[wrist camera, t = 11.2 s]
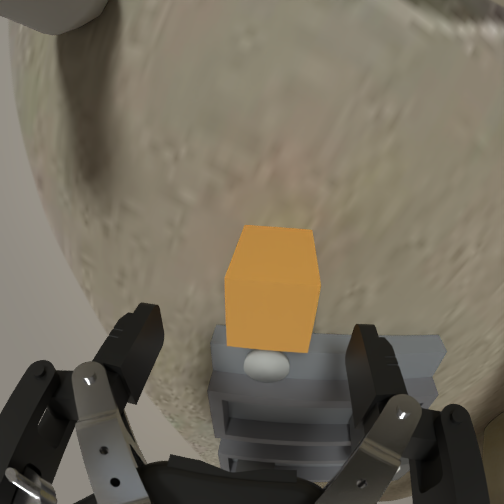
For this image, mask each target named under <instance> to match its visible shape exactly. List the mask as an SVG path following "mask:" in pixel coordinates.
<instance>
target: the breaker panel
mask: <svg viewBox="0 0 504 504" xmlns="http://www.w3.org/2000/svg"><path fill="white" fill-rule="evenodd" d="M351 336H352V335H338V334H317V333H312V335H311V340H310V345H309V349H308V353H298V352H284V351H271V350H260V349H250V348H240V347H232V346H227V337H226V326H223V325H216V328H215V331H214V334H213V337H212V340H211V343H210V344H211V354H212V364H213V372H212V376H211V379H210V383H209V386H208V390H207V391H208V398H209V404H210V411H211V417H212V423H213V429H214V434H215V438H221V441H220V446H219V450H218V456H219V461H220V467H221V469H223V470H226V471H228V472H236V467H237V461H238V459H240V460H249V461H259V462H271V463H275V466H274V469H279V470H297V477H299V478H303V479H306V480H308V481H310V482H329V481H330V480H331V479H332V478H333V477H334V475H335V474H336V473H337V472H338V471H339V469H340V468H341V467H342V465H343V464H344V463H345V462H346V460H347V459H348V458H349V456H350V455H351V454H352V451H351V438H350V427H349V420H350V418H351V416H352V414H353V412H352V404H351V398H350V391H349V385H348V378H347V372H346V366H345V355H346V350H347V347H348V344H349V341H350V339H351ZM379 337H385V338H386V339H387V340H388V342H389V343H390V344H391V345H392V347H393V349H394V352H395V355H396V356H395V358H397V361H398V366H399V367H400V370H401V373H402V376H403V380H404V383H405V386H406V389H407V393H408V395H409V396H412V397H413V398H415V399H416V400H417V401H418V402H419V404H420V406H421V408H424V409H428V408H429V407H430V405H431V404H432V403H433V401H434V400H435V399H436V397H437V396H438V395H439V394H438V392H437V389H436V386H435V383H434V380H433V378H432V376H433V374H434V373H435V371H436V369H437V368H438V366H439V364H440V363H441V361H442V359H443V358H444V356H445V354H446V352H447V351H446V348H445V346H444V344H443V342H442V340H441V338H440V336H439V335H413V336H379Z"/></svg>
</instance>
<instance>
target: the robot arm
mask: <svg viewBox="0 0 504 504" xmlns="http://www.w3.org/2000/svg"><path fill="white" fill-rule="evenodd" d="M163 342H164V329H163V324H162V318H161V313H160V308H159V306H158V305H155V304H148V303H140V304H139V305H138V307H137V308H136V310H135V311H134V313H129V312H128V313H127V314H126V315H124V316H123V317H122V318H120V319H119V320H118V322H117V323H116V325H115V326H114V329H112V331H111V332H110V334H109V336H108V337H107V339H106V340H105V342H104V343H103V345H102V346H101V348H100V349H99V351H98V353H97V354H96V356H95V357H94V359H93V360H92V361H90V362H85V363H82V364H80V365H79V366H78V367H76V368H75V370H74V371H59V370H55V368H54V366H53V365H52V363H51V362H49V361H46V360H40V361H36V362H34V363H33V364H31V365H30V366H29V368H28V369H27V370H26V372H25V374H24V375H23V377H22V378H21V380H20V381H19V383H18V385H17V386H16V388H15V390H14V391H13V393H12V394H11V396H10V398H9V400H8V402H7V403H6V405H5V407H4V408H3V410H2V412H1V414H0V504H57V499H56V494H55V490H54V488H53V486H52V483H53V480H54V477H55V475H56V472H57V469H58V467H59V464H60V461H61V459H62V456H63V454H64V451H65V449H66V446H67V444H68V442H69V439H70V437H71V434H72V432H73V430H74V427H75V426H76V432H77V436H78V441H79V445H80V449H81V452H82V456H83V460H84V463H85V467H86V470H87V473H88V477H89V480H90V483H91V486H92V489H93V492H94V493H93V494H91V495H90V496H88V497H86V498H84V499H82V500H80V501H78V502H76V503H74V504H377V502H378V501H379V499H380V498H381V496H382V495H383V493H384V492H385V490H386V488H387V487H388V485H389V484H390V482H391V480H392V479H393V477H394V475H395V474H396V472H397V470H398V468H399V466H400V464H401V460H400V458H401V457H402V458H408V459H409V467H410V475H411V486H412V498H413V504H490V499H489V493H488V487H487V482H486V476H485V472H484V467H483V462H482V458H481V454H480V450H479V446H478V442H477V439H476V435H475V431H474V428H473V425H472V421H471V418H470V415H469V413H468V411H467V410H466V409H465V408H464V407H462V406H460V405H458V404H450V405H447V406H446V407H445V408H444V409H443V410H442V411H441V412H440V411H435V410H429V409H424V408H421V406H420V404H419V402H418V401H417V400H416V399H415V398H413V397H412V396H409V395H408V393H407V389H406V386H405V383H404V380H403V376H402V373H401V370H400V367H399V366H398V361H397V358H395V356H396V355H395V352H394V349H393V347H392V345H391V344H390V343H389V342H388V340H387V339H386V338H385V337H379V336H378V333H377V330H376V327H375V325H371V324H356V325H355V327H354V330H353V333H352V336H351V339H350V341H349V344H348V347H347V350H346V355H345V366H346V372H347V378H348V385H349V391H350V398H351V404H352V412H353V419H354V427H355V429H364V433H365V436H364V437H363V438H362V440H361V441H360V443H359V444H358V445H357V447H356V448H355V450H354V451H353V452H352V454H351V455H350V456H349V458H348V459H347V460H346V462H345V463H344V464H343V465H342V467H341V468H340V469H339V471H338V472H337V473H336V474H335V475H334V477H333V478H332V479H331V480H330V481H329V482H328V484H327V485H326V486H325V487H324V488H323V489H322V488H321V487H319V486H318V485H316V484H315V483H313V482H310V481H308V480H306V479H303V478H299V477H297V470H279V469H260V470H252V471H243V472H228V471H226V470H223V469H220V468H218V467H215V466H213V465H210V464H208V463H205V462H203V461H200V460H195V459H190V458H185V457H180V456H176V455H171V454H170V458H169V461H158V462H153V463H149V464H147V462H146V460H145V458H144V456H143V454H142V452H141V450H140V449H139V446H138V444H137V442H136V439H135V436H134V434H133V431H132V429H131V426H130V423H129V421H128V418H127V415H126V412H125V410H124V408H125V406H126V404H127V402H128V403H132V404H135V405H136V404H137V402H138V400H139V397H140V395H141V393H142V390H143V388H144V386H145V384H146V381H147V379H148V377H149V375H150V372H151V370H152V368H153V366H154V363H155V361H156V359H157V357H158V354H159V352H160V350H161V348H162V346H163ZM46 408H47V409H46ZM45 409H46V411H45ZM44 411H45V413H44ZM43 413H44V415H43ZM42 415H43V417H42ZM41 417H42V419H41ZM40 419H41V421H40ZM39 421H40V423H39ZM77 421H78V422H77ZM38 423H39V425H38Z"/></svg>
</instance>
